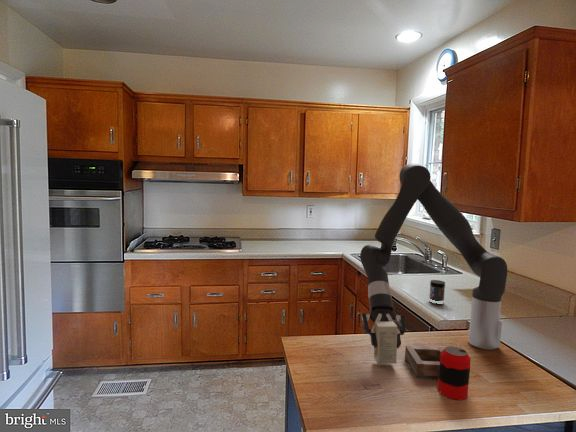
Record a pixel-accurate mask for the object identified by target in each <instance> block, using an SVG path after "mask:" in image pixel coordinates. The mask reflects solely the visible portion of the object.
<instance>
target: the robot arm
mask: <svg viewBox="0 0 576 432" xmlns="http://www.w3.org/2000/svg"><path fill="white" fill-rule="evenodd" d="M398 176H399V178H398V179H399V181H400V184H401V186H400V190H399V192H398V194H397V196H396V199H395V200H394V202H393V204H392V205H391V206H390V208H388V211H386V213H385V215H384V216H383V218H382V220H381V221H380V224H379V225H378V228H377V229H376V231H375V234H374V239H375V240H376V241H377V242H379V243H381V245H380V247H379V246H378V247H377V246H376V245H371V244H367V245H364V246H363V247H362V248H361V250H360V255H359V257H360V262H361V265H362V267H363V270H364V271H365V274H366V277H367V287H368V290H367V293H368V295H367V297H368V302H369V303H368V304H369V311H370V313H367V314H366V312H365V313H362V314H361V317H360V318H361V323H362V328H363V333H364V334H365V335H370V336H369V337H370V343H371V346H372V347H373V348H374V347H377V340H376V334H375V322H379V321H393V322H394V323H395V320H397V322H398V323H399V328H398V327H397V349H399V348H400V347H401V345H402V341H401V339H402V338H401V336H404V335H405V334H406V333H405V332H406V316H405V314H401V315H398V314H396V313H395V310H394V309H395V308H394V303H393V298H392V291H391V287H390V282H389V281H390V280H389V276H388V272H387V270H386V269H385V267H386V266H387V265H388V264H389V262H390V260H391V255H392V250H393V247H394V242H395V240H396V238H397V236H398V234H399V233H400V231H401V228H402V227H403V224H404V222H405V220H406V219H407V217H408V215H409V213H410V212H411V210H412V208H413V207H414V205H415V204H416V202H417V201H418V202H419V203H420V204H421V205H422V207H423V208H424V210H425V212H426V213H427V215H428V216H429V218H430V219H431V220H432V222H433V223H434V225H435V226H436V228H438V229H439V231H440V232H441V233H442V234H443V236H445V237H446V239H447V240H448V241H449V242H450V243H451V244H452V245H453V246H454V247H455V248H456V250H458V252H459V253H460V255H462V257H463V259H464V261H466V263H467V264H468V266H469V268H470V269H471V271H472V273H474V274H475V275H476V276H477V277H479V283H478V286H475V287H474V288H473V289H472V292H471V293H472V294H471V295H472V296H471V307H470V308H471V309H470V319H469V331H468V343H469V344H470V345H471V346H473V347H476V348H477V349H483V350H489V351H490V350H491V351H492V350H495V349H500V347H501V339H502V338H501V336H502V327H503V324H502V321H501V320H500V318H501V309H502V308H501V306H502V297H503V295H504V294H505V291H506V285H507V278H508V264H507V261H505V259H504V258H503V257H501V256H498V255H495V254H494V253H493V254H492V253H490V252H489V251H487V250H486V249H485V248H484V247H483V246H482V245H481V244H480V243H479V241H478V240H477V239H476V237H475V235H474V231H473V228H472V226H471V224H470V222H469V220H468V219H467V218H466V216H464V214H463V213H462V212H461V210H459V208H458V207H457V206H456V205H455V204H454V203H453V202H452V201H451V200H450V199H448V198H447V197H446V196H445V195H443V194H442V192H441V191H439V190H438V189H437V187H436V186H435V185H434V183H433V182H432V181H431V179H432V178H431V177H432V176H431V173H430V171H429V169H428V168H427V167H425V166H424V165H421V164H419V163H408V164H405V165H404V166H403V167H402V168H401V169H400V171H399V175H398ZM369 319H370V320H371V321H372V323H373V326H372V327H371V328H370V327H369V323H368V322H369Z"/></svg>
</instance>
